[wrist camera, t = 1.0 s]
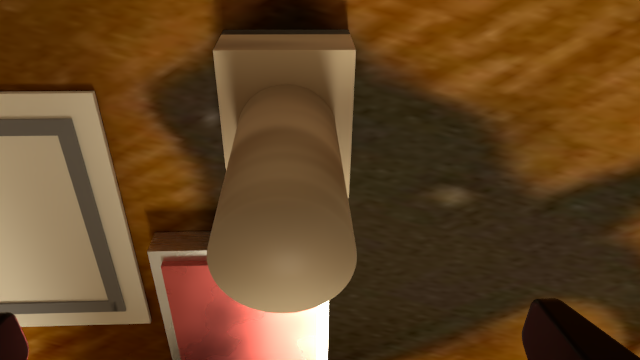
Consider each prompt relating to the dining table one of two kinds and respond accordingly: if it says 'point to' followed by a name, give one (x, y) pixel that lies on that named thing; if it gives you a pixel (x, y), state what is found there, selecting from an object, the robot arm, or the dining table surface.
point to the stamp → (284, 168)
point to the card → (63, 216)
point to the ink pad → (224, 311)
